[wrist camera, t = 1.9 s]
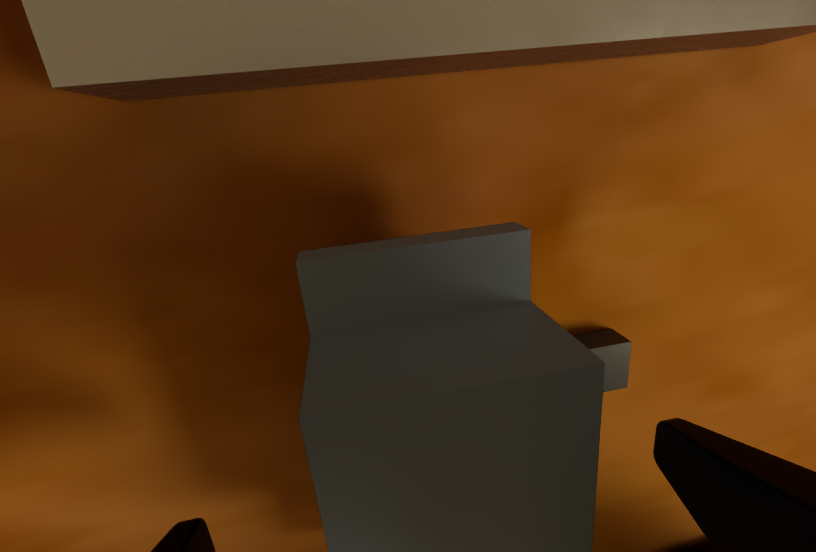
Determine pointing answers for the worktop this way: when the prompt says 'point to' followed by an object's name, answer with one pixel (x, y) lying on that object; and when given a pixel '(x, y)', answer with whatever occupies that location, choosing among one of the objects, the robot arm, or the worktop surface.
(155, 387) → the worktop surface
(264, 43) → the plate
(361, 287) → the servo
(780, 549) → the robot arm
